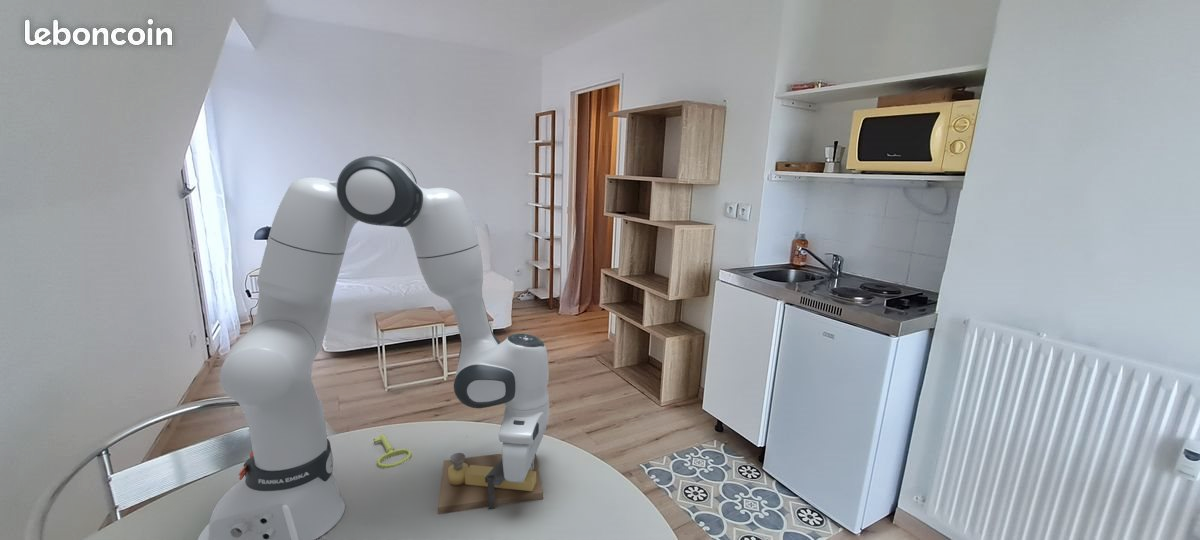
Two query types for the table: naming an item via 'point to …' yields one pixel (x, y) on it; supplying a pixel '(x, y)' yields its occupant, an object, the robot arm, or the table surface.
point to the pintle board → (482, 496)
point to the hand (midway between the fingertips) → (528, 473)
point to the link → (477, 477)
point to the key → (390, 453)
